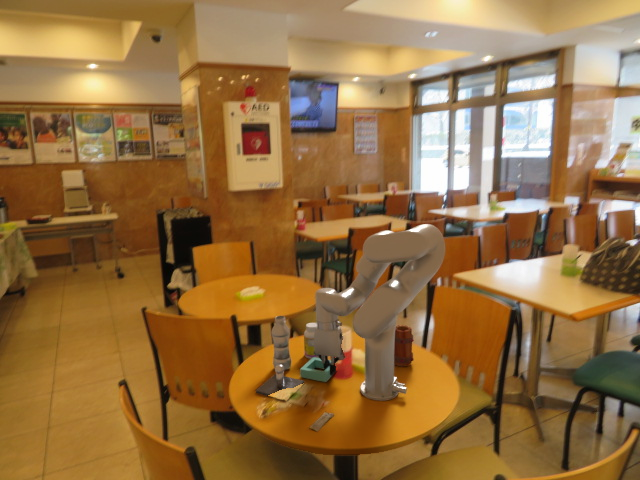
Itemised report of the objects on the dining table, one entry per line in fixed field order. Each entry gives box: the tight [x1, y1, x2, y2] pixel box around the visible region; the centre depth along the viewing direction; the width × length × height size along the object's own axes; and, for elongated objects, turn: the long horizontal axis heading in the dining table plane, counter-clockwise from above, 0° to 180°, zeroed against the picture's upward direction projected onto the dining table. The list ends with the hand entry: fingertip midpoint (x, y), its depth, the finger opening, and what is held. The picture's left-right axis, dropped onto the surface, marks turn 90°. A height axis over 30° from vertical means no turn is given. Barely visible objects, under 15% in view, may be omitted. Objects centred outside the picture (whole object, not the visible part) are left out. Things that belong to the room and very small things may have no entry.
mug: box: [394, 324, 415, 367], centre depth 163 cm, size 15×8×15 cm, turn 49°
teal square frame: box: [299, 357, 333, 383], centre depth 157 cm, size 10×10×3 cm
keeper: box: [255, 364, 305, 397], centre depth 147 cm, size 12×12×9 cm
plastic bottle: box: [271, 315, 292, 371], centre depth 160 cm, size 6×7×20 cm
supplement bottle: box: [303, 322, 319, 360], centre depth 170 cm, size 7×7×13 cm
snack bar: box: [309, 410, 335, 433], centre depth 129 cm, size 10×2×3 cm
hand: (330, 372), depth 155 cm, fingers closed on teal square frame, 1 cm apart
